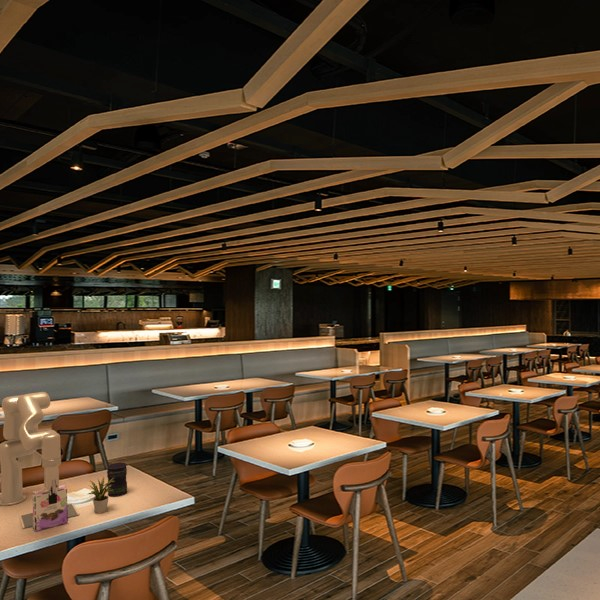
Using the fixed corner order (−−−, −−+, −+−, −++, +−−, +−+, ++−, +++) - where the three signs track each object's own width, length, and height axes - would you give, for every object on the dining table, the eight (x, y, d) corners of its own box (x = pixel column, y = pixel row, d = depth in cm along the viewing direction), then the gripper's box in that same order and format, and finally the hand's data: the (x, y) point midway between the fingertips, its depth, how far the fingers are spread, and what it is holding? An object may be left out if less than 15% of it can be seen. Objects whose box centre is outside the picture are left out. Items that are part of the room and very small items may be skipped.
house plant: (120, 513, 241) (119, 479, 241) (89, 520, 234) (88, 485, 234) (115, 503, 253) (114, 471, 254) (85, 509, 247) (84, 476, 247)
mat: (19, 516, 241) (19, 515, 241) (73, 504, 254) (73, 503, 254) (22, 529, 227) (22, 528, 227) (79, 515, 240) (79, 514, 240)
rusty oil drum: (130, 490, 272) (129, 462, 272) (122, 497, 262) (121, 468, 262) (112, 490, 272) (112, 462, 273) (104, 497, 263) (103, 468, 263)
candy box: (34, 532, 224) (33, 495, 224) (32, 527, 228) (31, 491, 229) (68, 523, 232) (67, 487, 232) (65, 519, 237) (64, 484, 237)
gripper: (40, 459, 227) (41, 500, 227) (44, 467, 215) (45, 510, 215) (58, 456, 231) (59, 496, 231) (63, 464, 219) (65, 506, 219)
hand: (52, 503), depth 223 cm, fingers closed
